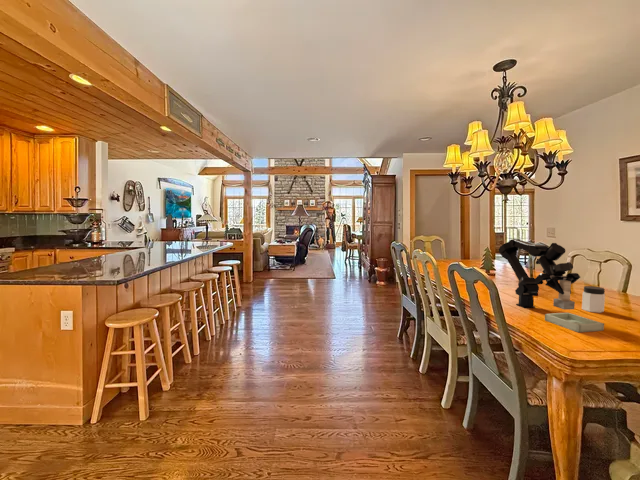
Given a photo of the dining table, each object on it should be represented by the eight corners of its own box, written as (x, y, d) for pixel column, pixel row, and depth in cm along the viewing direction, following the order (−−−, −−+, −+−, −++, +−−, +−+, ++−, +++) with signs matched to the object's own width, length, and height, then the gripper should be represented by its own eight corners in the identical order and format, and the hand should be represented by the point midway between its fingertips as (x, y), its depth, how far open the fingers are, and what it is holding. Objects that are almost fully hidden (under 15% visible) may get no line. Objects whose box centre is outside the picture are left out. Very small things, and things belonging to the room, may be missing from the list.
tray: (544, 320, 148) (545, 314, 148) (567, 318, 151) (568, 312, 151) (578, 332, 133) (578, 325, 133) (603, 330, 135) (604, 323, 135)
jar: (599, 313, 159) (601, 290, 158) (579, 309, 165) (581, 287, 164) (605, 311, 163) (607, 288, 163) (586, 307, 170) (587, 285, 169)
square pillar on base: (553, 305, 150) (554, 279, 149) (563, 305, 150) (564, 279, 149) (563, 309, 144) (565, 282, 143) (574, 309, 144) (575, 282, 143)
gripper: (540, 256, 149) (558, 284, 139) (578, 256, 150) (598, 284, 140) (527, 270, 157) (543, 297, 147) (563, 269, 158) (581, 297, 148)
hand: (566, 294), depth 145 cm, fingers closed on square pillar on base, 3 cm apart
